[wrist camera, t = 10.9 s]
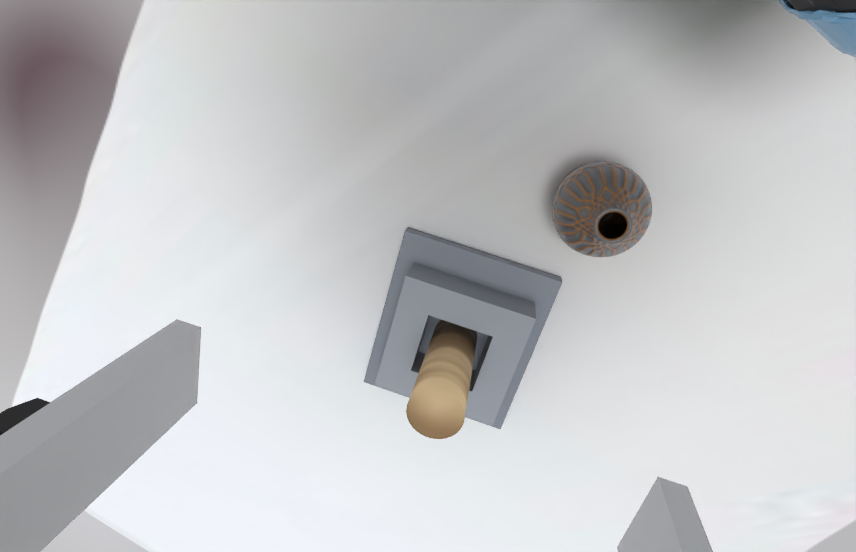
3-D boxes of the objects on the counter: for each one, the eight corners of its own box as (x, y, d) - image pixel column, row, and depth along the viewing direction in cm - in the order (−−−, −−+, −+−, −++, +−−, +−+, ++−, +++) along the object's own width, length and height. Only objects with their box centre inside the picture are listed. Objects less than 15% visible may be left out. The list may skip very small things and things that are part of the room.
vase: (567, 146, 38) (581, 157, 30) (652, 171, 38) (690, 190, 30) (537, 227, 41) (542, 258, 33) (617, 252, 40) (642, 289, 32)
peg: (440, 309, 44) (415, 380, 32) (483, 324, 43) (472, 400, 32) (428, 347, 45) (400, 427, 34) (469, 361, 45) (454, 446, 34)
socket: (408, 227, 43) (395, 241, 38) (561, 277, 42) (566, 297, 38) (367, 375, 49) (352, 402, 44) (500, 421, 48) (499, 453, 43)
